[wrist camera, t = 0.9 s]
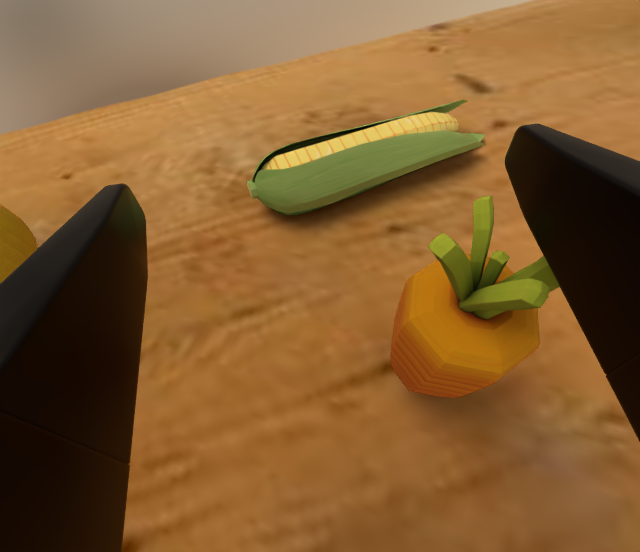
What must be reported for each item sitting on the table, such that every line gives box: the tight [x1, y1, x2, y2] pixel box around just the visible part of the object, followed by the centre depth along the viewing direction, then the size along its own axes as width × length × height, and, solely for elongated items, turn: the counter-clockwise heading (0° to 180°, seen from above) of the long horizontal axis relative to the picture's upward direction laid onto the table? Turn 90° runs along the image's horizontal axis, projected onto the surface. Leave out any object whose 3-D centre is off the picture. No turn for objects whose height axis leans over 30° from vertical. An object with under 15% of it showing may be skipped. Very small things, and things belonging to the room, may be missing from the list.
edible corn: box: [247, 100, 486, 215], centre depth 28 cm, size 5×20×5 cm, turn 112°
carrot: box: [390, 196, 560, 397], centre depth 16 cm, size 5×5×15 cm
